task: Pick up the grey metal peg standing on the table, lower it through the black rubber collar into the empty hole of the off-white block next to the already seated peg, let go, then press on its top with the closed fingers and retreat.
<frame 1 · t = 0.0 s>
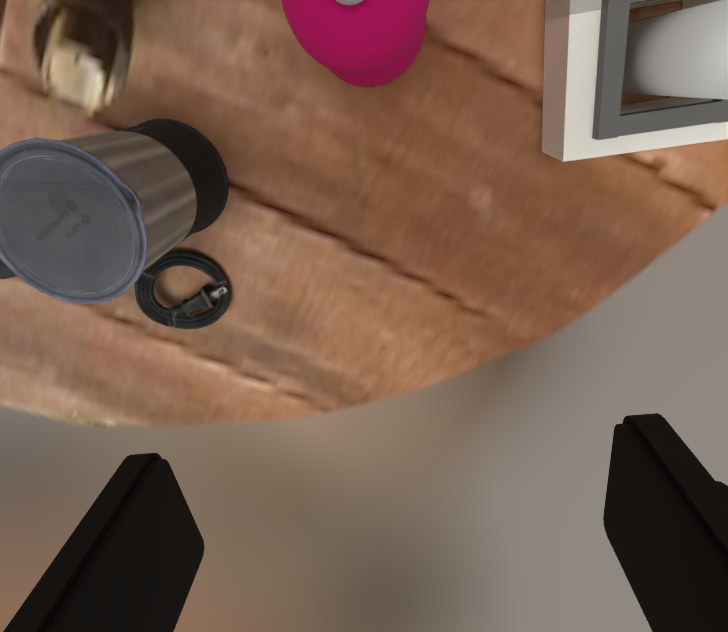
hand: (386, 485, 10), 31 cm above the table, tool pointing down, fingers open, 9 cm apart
milk frother: (185, 225, 40), on the table
pepper mill: (370, 29, 33), on the table
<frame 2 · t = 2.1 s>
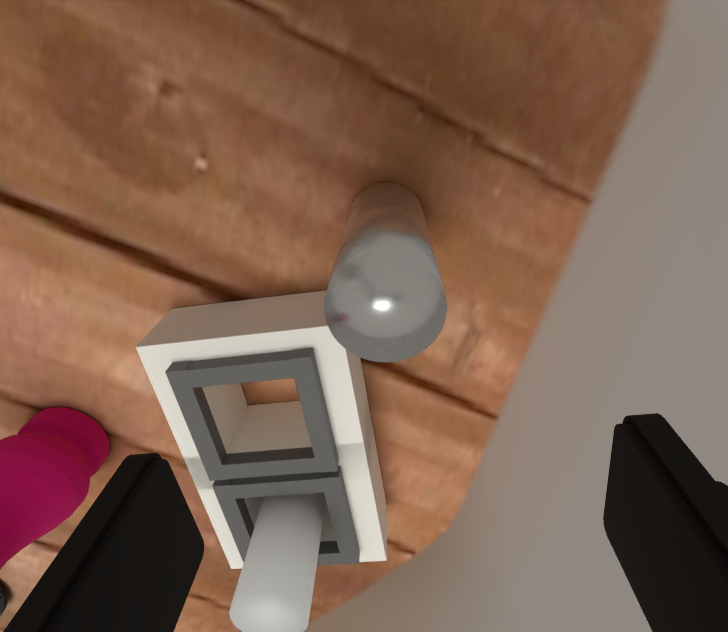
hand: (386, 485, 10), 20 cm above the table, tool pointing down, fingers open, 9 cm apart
socket block: (291, 417, 35), on the table
peg: (386, 220, 28), on the table
pepper mill: (73, 435, 37), on the table
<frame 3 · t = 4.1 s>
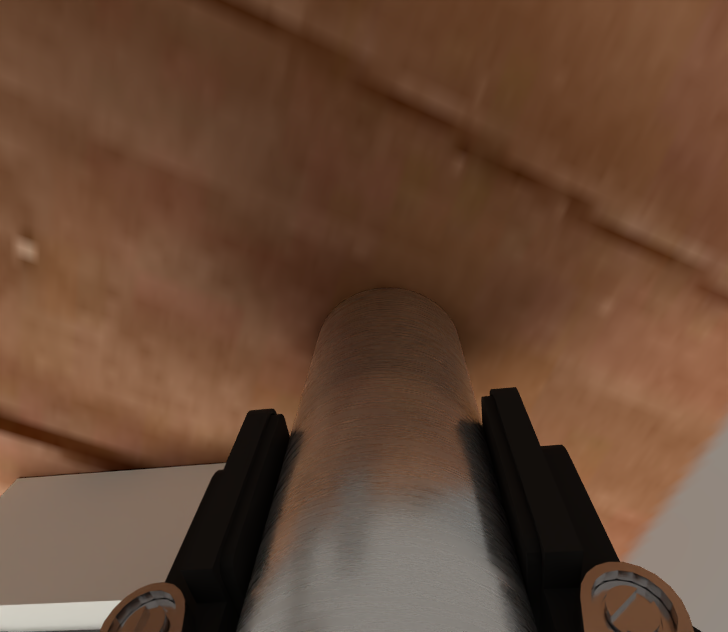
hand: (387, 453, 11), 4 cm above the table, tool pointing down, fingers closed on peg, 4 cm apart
socket block: (234, 624, 22), on the table
peg: (388, 353, 15), on the table, touching gripper
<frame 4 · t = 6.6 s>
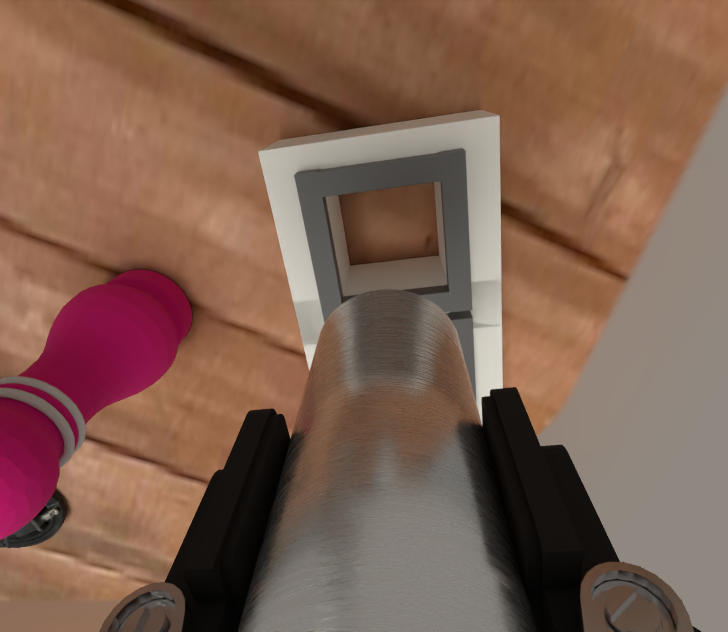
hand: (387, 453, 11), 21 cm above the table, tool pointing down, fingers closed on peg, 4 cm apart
socket block: (396, 281, 32), on the table
milk frother: (15, 453, 41), on the table
peg: (388, 354, 15), point 17 cm above the table, touching gripper
pepper mill: (151, 307, 34), on the table
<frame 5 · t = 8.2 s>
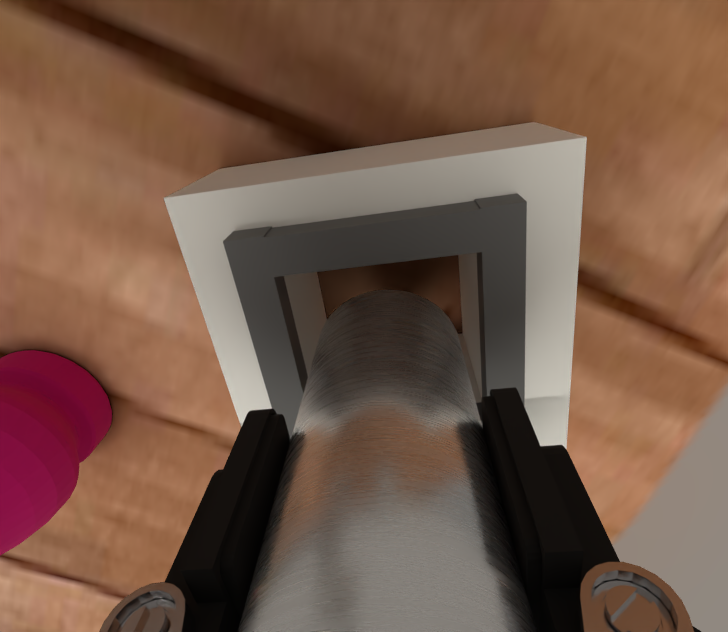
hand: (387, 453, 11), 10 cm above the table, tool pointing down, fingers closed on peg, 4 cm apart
socket block: (400, 367, 22), on the table
peg: (388, 354, 15), point 6 cm above the table, touching gripper
pepper mill: (55, 397, 24), on the table
when the fingers open (7 cm above the table, at t = 9.3 s): peg drops 2 cm, resting in socket block.
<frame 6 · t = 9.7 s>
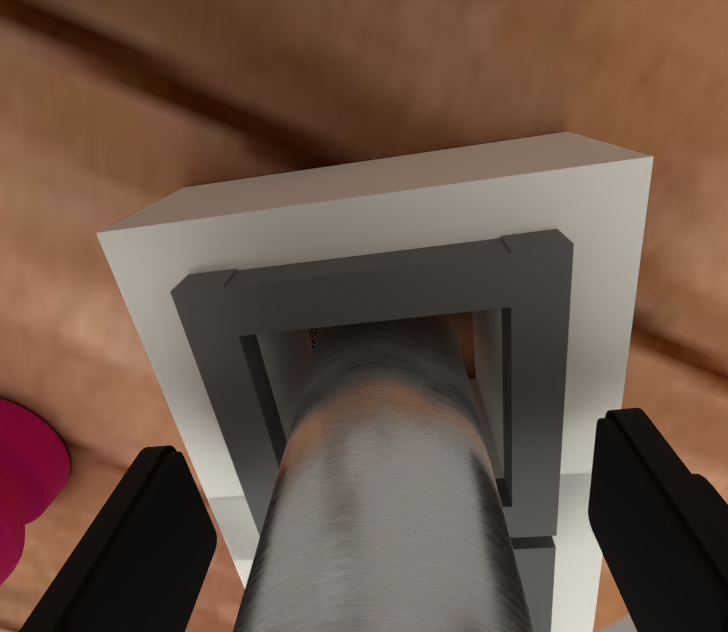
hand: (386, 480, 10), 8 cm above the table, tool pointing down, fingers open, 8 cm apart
socket block: (401, 415, 19), on the table
peg: (387, 317, 17), resting in socket block
pepper mill: (5, 445, 21), on the table
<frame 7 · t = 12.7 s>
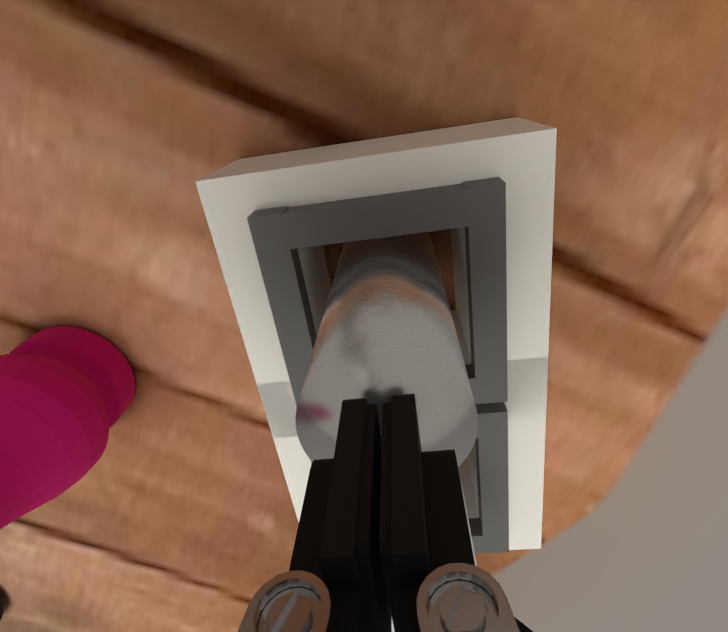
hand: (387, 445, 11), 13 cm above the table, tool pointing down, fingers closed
socket block: (399, 341, 24), on the table
peg: (387, 259, 22), resting in socket block
pepper mill: (83, 371, 26), on the table
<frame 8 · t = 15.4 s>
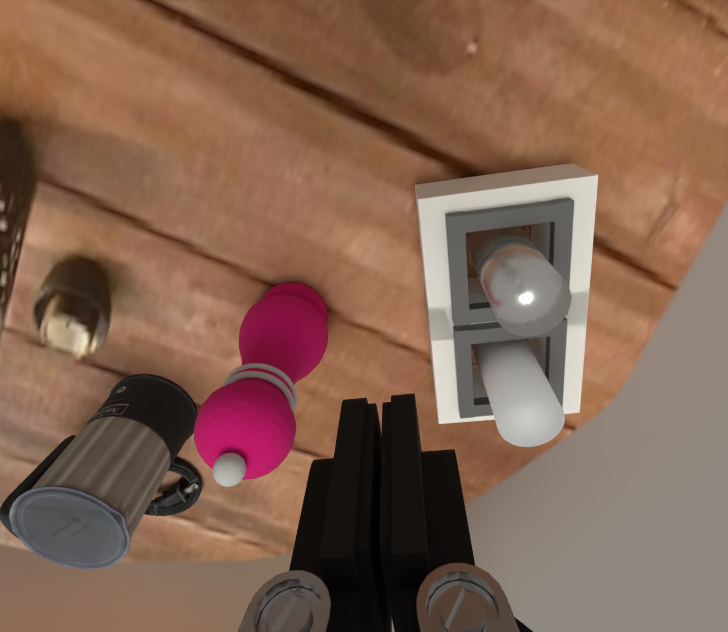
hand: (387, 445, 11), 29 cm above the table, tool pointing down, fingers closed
socket block: (494, 290, 40), on the table
milk frother: (164, 438, 50), on the table
peg: (492, 241, 38), resting in socket block
pepper mill: (294, 312, 42), on the table
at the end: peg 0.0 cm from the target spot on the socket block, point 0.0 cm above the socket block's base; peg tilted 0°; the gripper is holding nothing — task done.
